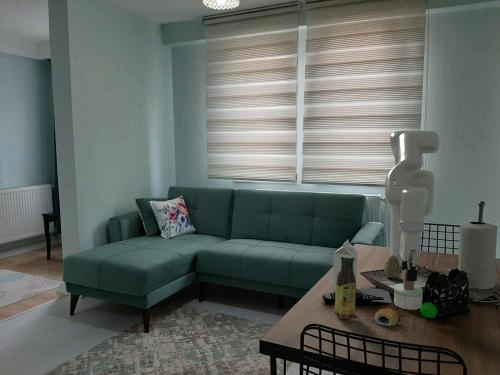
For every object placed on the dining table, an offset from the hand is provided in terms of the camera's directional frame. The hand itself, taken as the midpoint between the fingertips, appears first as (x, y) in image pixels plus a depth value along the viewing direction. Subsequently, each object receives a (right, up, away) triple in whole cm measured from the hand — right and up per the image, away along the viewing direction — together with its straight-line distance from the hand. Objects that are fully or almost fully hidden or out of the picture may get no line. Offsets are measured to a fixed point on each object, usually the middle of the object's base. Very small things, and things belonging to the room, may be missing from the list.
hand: (408, 275), depth 138 cm
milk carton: (-19, -9, +14) cm, 25 cm away
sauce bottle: (-23, -12, -6) cm, 27 cm away
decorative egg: (+3, -7, +26) cm, 27 cm away
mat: (-9, -10, +9) cm, 16 cm away
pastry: (-11, -13, -9) cm, 19 cm away
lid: (0, -6, 0) cm, 6 cm away
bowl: (0, -11, +1) cm, 11 cm away
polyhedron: (+3, -12, -8) cm, 15 cm away
